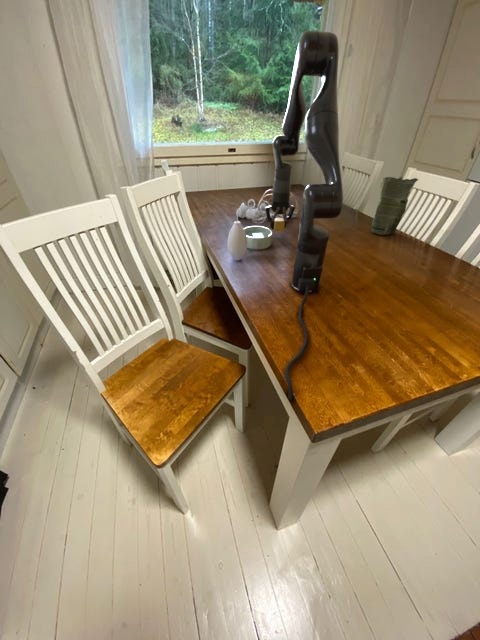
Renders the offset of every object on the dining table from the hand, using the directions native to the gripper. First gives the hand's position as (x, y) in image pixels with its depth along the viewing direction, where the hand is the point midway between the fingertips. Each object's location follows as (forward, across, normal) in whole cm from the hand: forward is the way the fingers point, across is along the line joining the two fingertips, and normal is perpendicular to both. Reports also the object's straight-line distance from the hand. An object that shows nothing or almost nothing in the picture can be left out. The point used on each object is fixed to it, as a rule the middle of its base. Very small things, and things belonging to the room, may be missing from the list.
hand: (278, 228), depth 129 cm
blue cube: (+3, -12, -10) cm, 16 cm away
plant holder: (+3, +1, +26) cm, 27 cm away
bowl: (+4, -12, -8) cm, 15 cm away
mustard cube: (0, 0, 0) cm, 0 cm away
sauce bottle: (+4, -23, -22) cm, 32 cm away
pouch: (+4, +53, -3) cm, 53 cm away
